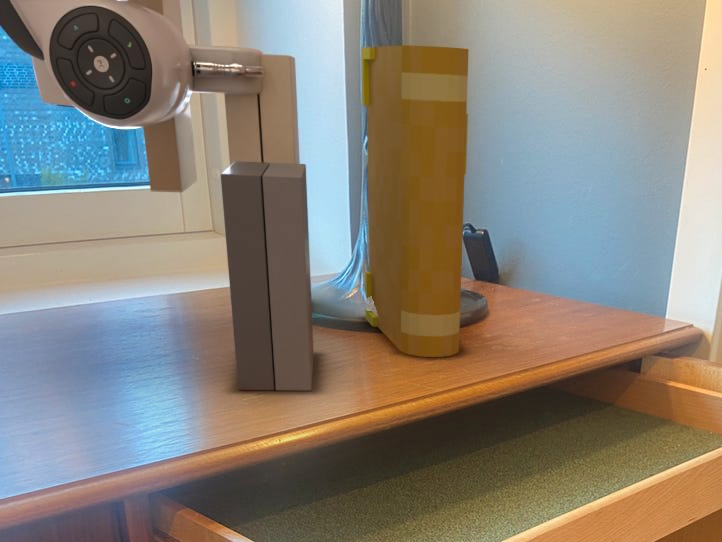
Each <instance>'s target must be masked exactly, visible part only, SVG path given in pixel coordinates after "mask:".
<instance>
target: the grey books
mask: <svg viewBox="0 0 722 542" xmlns="http://www.w3.org/2000/svg"><path fill="white" fill-rule="evenodd" d="M307 184H308V183H307V165H306V163H300V164H291V163H271V164H270V163H265V162H240V161H235V162H234V163H233V164H232V165H231V166H230V165H229V166H228V167H227V168H225V170H224V171H223V172H222V173H220V185H221V195H222V197H221V198H222V207H223V220H224V221H223V222H224V233H225V244H226V254H227V255H226V257H227V271H228V281H229V292H230V306H231V316H232V328H233V340H234V341H233V342H234V354H235V355H234V356H235V365H236V366H235V367H236V377H237V379H236V380H237V388H238V391H291V392H292V391H295V392H296V391H297V392H299V391H300V392H306V391H307V392H310V391H311V392H312V386H313V373H314V372H313V371H314V370H313V369H314V355H315V354H314V327H313V307H312V306H313V305H312V284H311V283H312V282H311V281H312V280H311V259H310V234H309V212H308V211H309V208H308V187H307Z"/></svg>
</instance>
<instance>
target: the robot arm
mask: <svg viewBox="0 0 722 542" xmlns="http://www.w3.org/2000/svg"><path fill="white" fill-rule="evenodd" d="M0 28H1V29H2V30H3V31H4V32H5V34H6V35H7V36H8V37H9V38H10V39H11V40H12V42H13V43H14V44H15V45H16V46H17V47H18V48H19V50H21V51H22V52H23V53H25V54H27V55H29V56H31V61H32V67H33V71H34V76H35V80H36V85H37V88H38V92H39V96H40V98H41V101H42V103H44V104H47V105H56V106H57V107H64V108H65V107H67V108H75V109H77V110H78V111H79V112H80V113H82V114H83V115H84V116H86V117H87V118H89V119H90V120H92V121H94V122H96V123H98V124H100V125H103V126H105V127H108V128H113V129H118V130H119V129H120V130H131V129H133V130H134V129H140V128H143V127H145V126H148V125H153V124H157V123H160V122H164V121H167V120H169V119H171V118H173V117H174V116H176V115H177V114H178V113H179V112H180V111H181V110H182V109H183V108H184V107H185V105H186V104H187V102H188V100H189V101H190V98H191V96H192V94H193V93H200V94H223V95H224V94H260V93H261V92H262V90H263V88H262V77H264V74H265V71H264V68H263V67H261V56H260V54H264V53H263V52H262V51H261V50H260V49H257V48H251V47H241V46H229V45H227V46H226V45H208V44H207V45H206V44H189V43H187V41H186V39H185V37H184V35H183V36H182V34H181V33H180V31H179V30H178V29H177V28H176V27H175V26H174V24H173V23H171V22H170V21H169V20H168V19H167V18H166V17H164V16H163V15H161V14H160V13H158V12H156V11H154V10H151V9H149V8H146V7H144V6H141V5H138V4H135V3H133V2H130V1H128V0H0Z"/></svg>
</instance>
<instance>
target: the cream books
mask: <svg viewBox="0 0 722 542" xmlns="http://www.w3.org/2000/svg"><path fill="white" fill-rule="evenodd" d="M260 56H261V67H263V68H264V71H265V74H264V77H262V88H263V90H262V92H261V93H260V94H223V95H224V107H225V121H226V132H227V133H226V134H227V145H228V158H229V166H231V165H232V164H233V163H234V162H235V161H240V162H265V163H270V164H271V163H291V164H301V159H300V138H299V137H300V136H299V118H298V117H299V116H298V114H299V113H298V95H297V94H298V93H297V72H296V70H297V69H296V58H295V57H294V56H292V55H286V54H271V53H267V54H266V53H263V54H260Z"/></svg>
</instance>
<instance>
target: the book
mask: <svg viewBox="0 0 722 542" xmlns="http://www.w3.org/2000/svg"><path fill="white" fill-rule="evenodd" d="M360 50H361V51H360V53H361V55H360V56H361V106H362V107H363V106H364V107H366V123H367V124H366V125H367V126H366V129H367V131H366V133H367V138H366V139H367V194H368V195H367V198H368V199H367V200H368V203H367V204H368V205H367V206H368V208H367V209H368V266H369V267H368V268H369V269H368V271H364V291H365V292H364V294H365V293H366V296H367V298H368V297H370V296H372V299H373V301H374V305H375V307H376V310H377V314H378V316H379V318H378V317H377V316H376V315H375V314H374V313H373V312H372V311H367V310H366V309H365V311H364V312H365V320H366V321H367V322H368V323H369V324H370V325H371V326H372V327H373V328H378V329H379V330H380V331H381V332H382V333H383V334H384V335H385V336H386V338H388V340H389V341H390V342H391V343H392V344H393V345H394V346H395V347H396V348H397V350H398V351H400V352H401V353H402V354H405V355H409V356H414V357H422V358H444V357H450V356H454V355H456V354H458V353H459V351H460V329H461V328H460V326H461V297H462V296H461V295H462V264H463V238H464V237H463V231H464V207H465V206H464V205H465V203H464V201H465V200H464V199H465V175H467V156H468V155H467V151H468V125H469V124H468V123H469V114H468V112H467V108H468V107H467V105H468V77H469V51H470V50H469V48H463V47H449V46H433V45H432V46H430V45H411V44H410V45H406V44H404V45H403V44H402V45H401V44H400V45H388V46H387V45H385V46H362V47H361V48H360Z"/></svg>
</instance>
